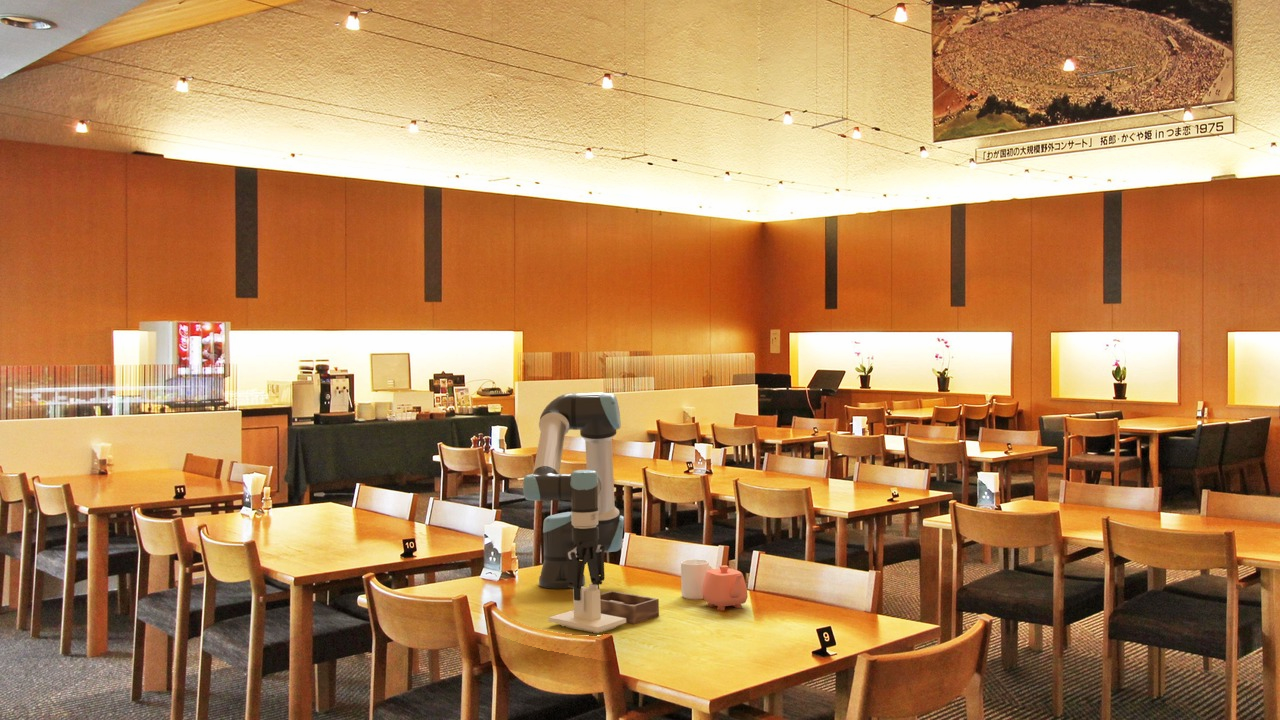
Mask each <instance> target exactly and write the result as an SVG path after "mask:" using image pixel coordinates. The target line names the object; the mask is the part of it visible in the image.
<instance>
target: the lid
mask: <svg viewBox="0 0 1280 720" xmlns="http://www.w3.org/2000/svg"><path fill="white" fill-rule="evenodd" d="M581 588H583V589H584V612H583V613H581V612H576V611H575V600H574V589H573V588H572V594H573V595H572V597H573V598H572V599H573V600H572V601H573V610H569V611H566V612H562V613H559V614H556V615H552V616H549V617H548V622H549V623H554V624H559V626H560V625H563V626H562V627H564V626H566V627H565V628H570V629H575V630H579V631H583V630H584V632H589V633H592V632H593V633H594V634H600V633H599V632H601V633H603V631H604V632H606V631H610V630H613V629H616V627H618V626H621V625H624V624H627V623H626V618H622V617H616V616H611V615H606V614H601V604H600V594H601V589H600V588H599V589H594V588H589V586H588V587H587V586H582V587H581Z"/></svg>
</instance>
